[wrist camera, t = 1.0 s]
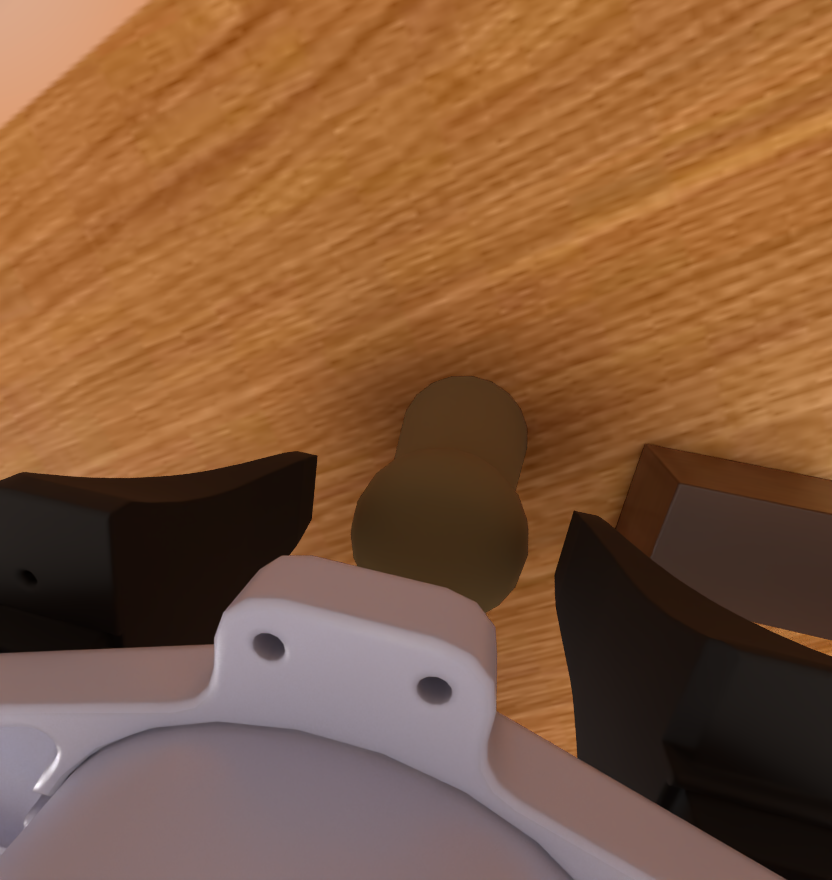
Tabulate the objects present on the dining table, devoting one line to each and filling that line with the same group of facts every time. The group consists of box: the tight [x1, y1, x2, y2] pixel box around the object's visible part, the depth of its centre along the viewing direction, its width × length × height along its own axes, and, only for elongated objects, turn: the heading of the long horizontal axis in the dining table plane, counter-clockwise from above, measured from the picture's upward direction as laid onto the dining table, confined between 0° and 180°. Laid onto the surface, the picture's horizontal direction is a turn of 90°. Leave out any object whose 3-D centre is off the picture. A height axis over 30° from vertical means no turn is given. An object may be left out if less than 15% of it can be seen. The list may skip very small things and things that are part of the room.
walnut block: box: [616, 444, 832, 640], centre depth 20 cm, size 5×10×4 cm, turn 81°
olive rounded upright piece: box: [351, 376, 528, 613], centre depth 18 cm, size 6×6×11 cm
